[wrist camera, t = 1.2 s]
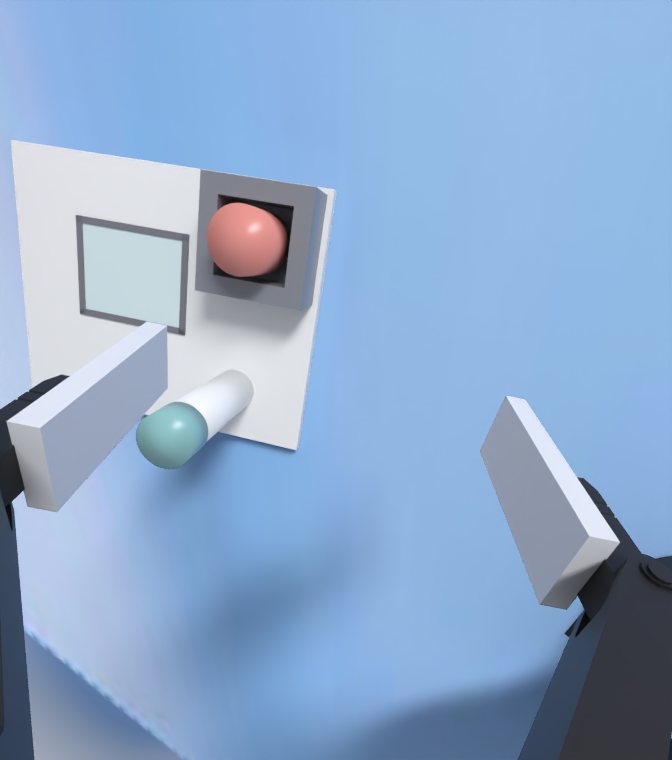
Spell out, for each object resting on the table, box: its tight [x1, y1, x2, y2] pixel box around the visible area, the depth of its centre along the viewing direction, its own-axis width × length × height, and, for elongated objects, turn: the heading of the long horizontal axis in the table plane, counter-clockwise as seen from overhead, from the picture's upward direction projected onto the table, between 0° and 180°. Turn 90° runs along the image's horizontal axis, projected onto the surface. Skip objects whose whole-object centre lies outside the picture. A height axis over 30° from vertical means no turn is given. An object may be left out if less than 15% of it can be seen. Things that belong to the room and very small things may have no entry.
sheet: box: [11, 140, 337, 450], centre depth 39 cm, size 24×30×1 cm
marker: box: [136, 370, 254, 469], centre depth 34 cm, size 4×4×12 cm
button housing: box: [195, 169, 327, 310], centre depth 33 cm, size 9×9×4 cm
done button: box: [207, 203, 290, 277], centre depth 31 cm, size 5×5×4 cm
